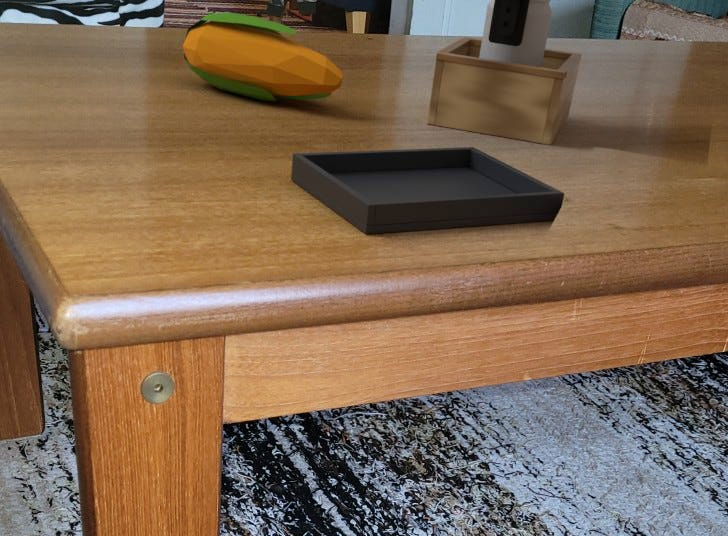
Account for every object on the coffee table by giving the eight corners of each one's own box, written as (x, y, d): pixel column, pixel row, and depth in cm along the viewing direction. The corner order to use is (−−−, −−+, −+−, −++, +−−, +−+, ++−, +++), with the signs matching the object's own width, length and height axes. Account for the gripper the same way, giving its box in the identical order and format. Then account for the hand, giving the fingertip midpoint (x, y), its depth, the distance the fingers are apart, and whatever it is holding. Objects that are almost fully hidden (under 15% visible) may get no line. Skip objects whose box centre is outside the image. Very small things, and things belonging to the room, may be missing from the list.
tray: (469, 171, 87) (473, 146, 86) (558, 220, 77) (565, 193, 76) (290, 180, 80) (292, 153, 79) (365, 234, 70) (369, 205, 69)
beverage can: (462, 122, 102) (483, -9, 95) (477, 111, 107) (498, -14, 100) (522, 133, 100) (548, 0, 93) (535, 121, 105) (560, -6, 98)
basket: (568, 120, 107) (582, 54, 103) (550, 145, 97) (565, 72, 93) (454, 101, 110) (464, 36, 106) (425, 124, 100) (435, 52, 96)
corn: (211, -3, 106) (368, 28, 97) (212, 73, 110) (363, 109, 102) (164, 7, 101) (326, 41, 92) (168, 86, 105) (322, 125, 97)
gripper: (581, -171, 82) (536, 55, 92) (603, -165, 95) (562, 32, 105) (492, -180, 83) (458, 43, 93) (527, -173, 97) (494, 22, 107)
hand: (513, 37), depth 99 cm, fingers open, 9 cm apart
